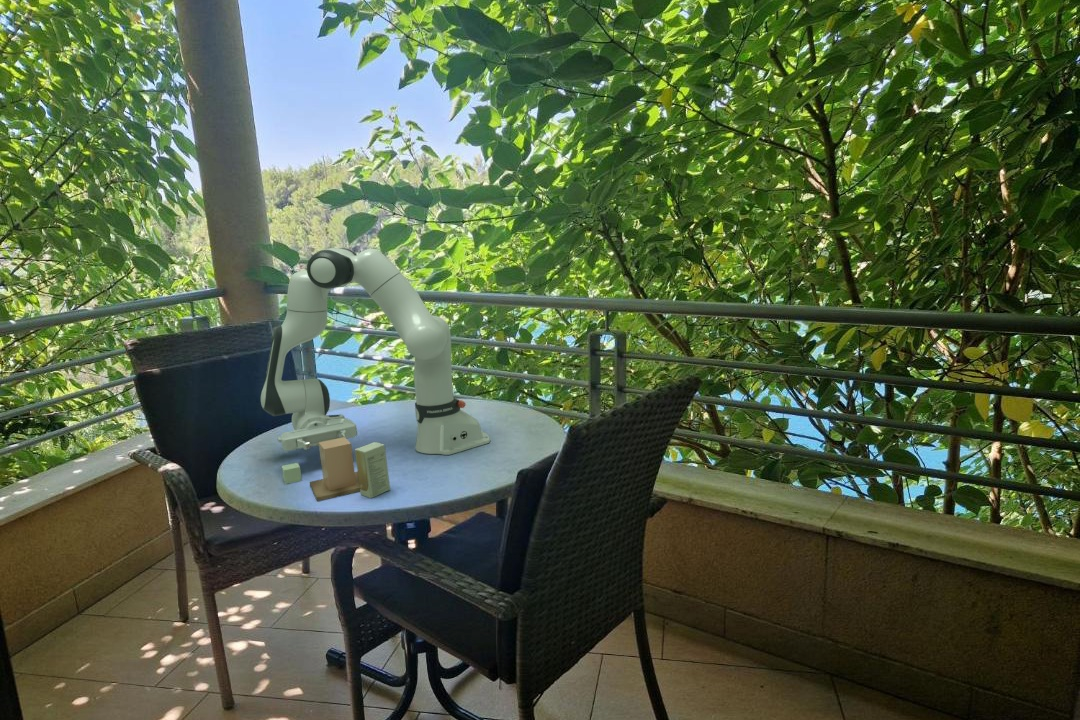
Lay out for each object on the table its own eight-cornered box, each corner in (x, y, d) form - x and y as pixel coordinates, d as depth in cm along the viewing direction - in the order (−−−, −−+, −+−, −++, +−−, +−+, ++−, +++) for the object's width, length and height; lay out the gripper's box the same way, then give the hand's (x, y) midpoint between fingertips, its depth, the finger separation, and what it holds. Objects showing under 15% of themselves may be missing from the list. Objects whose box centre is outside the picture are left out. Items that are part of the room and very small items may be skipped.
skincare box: (380, 486, 160) (375, 441, 157) (391, 490, 157) (386, 443, 155) (359, 495, 155) (353, 448, 153) (369, 499, 152) (364, 451, 150)
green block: (299, 476, 170) (297, 462, 170) (301, 480, 167) (299, 466, 166) (283, 479, 168) (281, 466, 168) (286, 484, 165) (284, 470, 164)
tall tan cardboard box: (349, 476, 165) (344, 437, 163) (356, 484, 160) (351, 443, 157) (323, 482, 162) (318, 442, 160) (329, 490, 156) (324, 449, 154)
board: (360, 474, 169) (359, 470, 169) (370, 489, 159) (370, 485, 158) (310, 485, 163) (309, 481, 163) (317, 501, 153) (316, 497, 152)
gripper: (274, 427, 175) (283, 439, 163) (348, 413, 185) (361, 424, 173) (277, 448, 176) (286, 462, 164) (350, 433, 186) (363, 445, 174)
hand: (325, 442), depth 169 cm, fingers open, 8 cm apart
